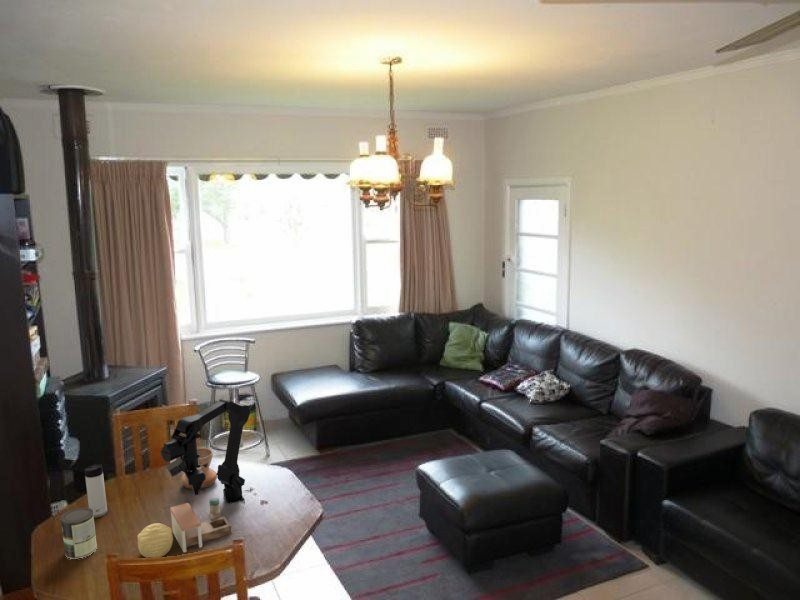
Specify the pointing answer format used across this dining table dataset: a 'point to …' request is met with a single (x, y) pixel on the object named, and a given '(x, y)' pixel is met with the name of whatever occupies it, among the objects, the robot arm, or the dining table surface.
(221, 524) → the socket block
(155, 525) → the sculpture
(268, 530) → the dining table surface
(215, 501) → the peg
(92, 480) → the travel mug
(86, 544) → the coffee can
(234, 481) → the robot arm
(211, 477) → the ceramic jug
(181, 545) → the footed pink board
